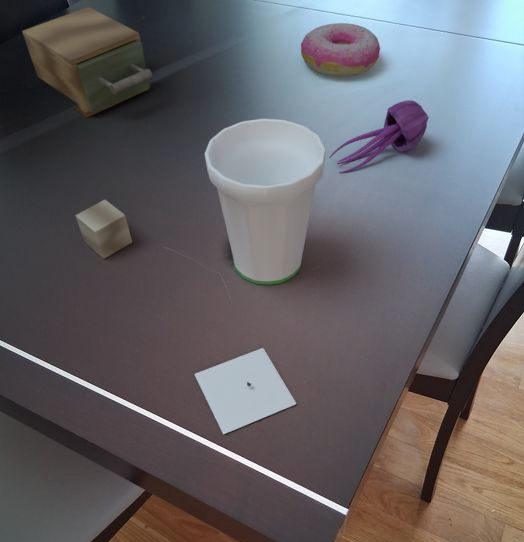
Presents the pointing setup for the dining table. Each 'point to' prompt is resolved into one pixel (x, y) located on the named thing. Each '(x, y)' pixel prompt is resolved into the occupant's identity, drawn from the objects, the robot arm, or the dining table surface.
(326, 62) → the donut
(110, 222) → the block
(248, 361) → the coaster
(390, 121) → the jellyfish
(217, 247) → the dining table surface
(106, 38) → the cabinet
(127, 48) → the drawer
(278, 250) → the cup
